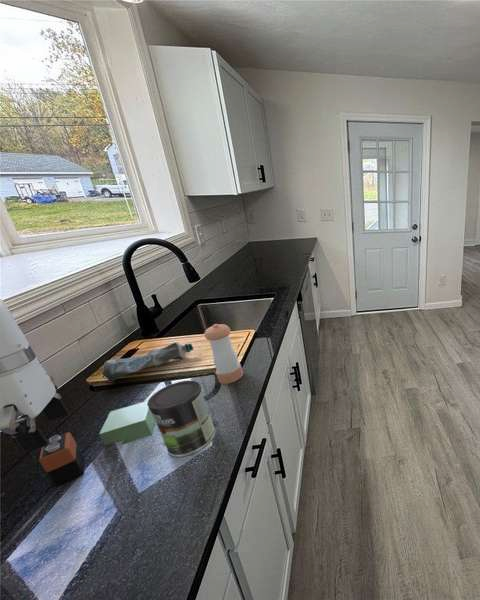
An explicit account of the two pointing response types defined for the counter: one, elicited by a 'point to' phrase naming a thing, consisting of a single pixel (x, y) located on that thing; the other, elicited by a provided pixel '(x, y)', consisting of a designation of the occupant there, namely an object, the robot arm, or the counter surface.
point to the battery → (62, 459)
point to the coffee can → (182, 418)
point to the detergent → (144, 360)
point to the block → (128, 424)
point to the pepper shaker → (223, 354)
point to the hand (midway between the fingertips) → (49, 431)
